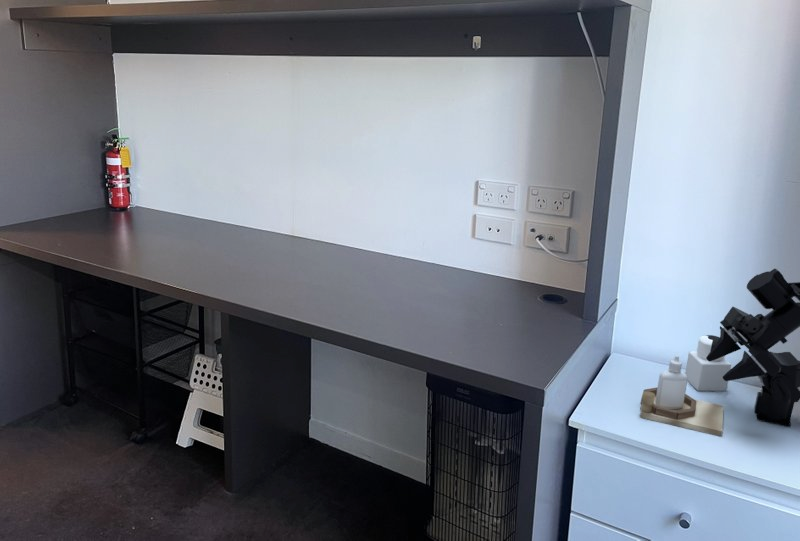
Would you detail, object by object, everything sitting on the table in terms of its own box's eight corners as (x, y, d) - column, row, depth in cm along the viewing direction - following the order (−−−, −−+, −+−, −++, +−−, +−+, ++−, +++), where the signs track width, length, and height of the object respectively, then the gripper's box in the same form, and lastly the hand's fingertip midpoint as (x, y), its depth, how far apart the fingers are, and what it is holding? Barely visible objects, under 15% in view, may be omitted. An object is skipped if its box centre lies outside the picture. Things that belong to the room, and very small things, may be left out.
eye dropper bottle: (680, 413, 143) (689, 363, 139) (653, 406, 146) (661, 356, 142) (684, 405, 147) (692, 355, 143) (657, 398, 149) (665, 349, 146)
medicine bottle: (712, 377, 163) (720, 332, 159) (726, 391, 156) (736, 344, 152) (683, 377, 162) (691, 332, 159) (697, 391, 156) (705, 344, 152)
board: (722, 410, 147) (726, 389, 146) (721, 436, 137) (725, 414, 135) (644, 393, 154) (647, 373, 152) (637, 416, 144) (640, 395, 142)
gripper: (736, 282, 146) (677, 326, 150) (776, 314, 128) (708, 363, 132) (766, 317, 148) (708, 359, 152) (809, 353, 130) (742, 400, 134)
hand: (715, 369), depth 143 cm, fingers open, 9 cm apart
